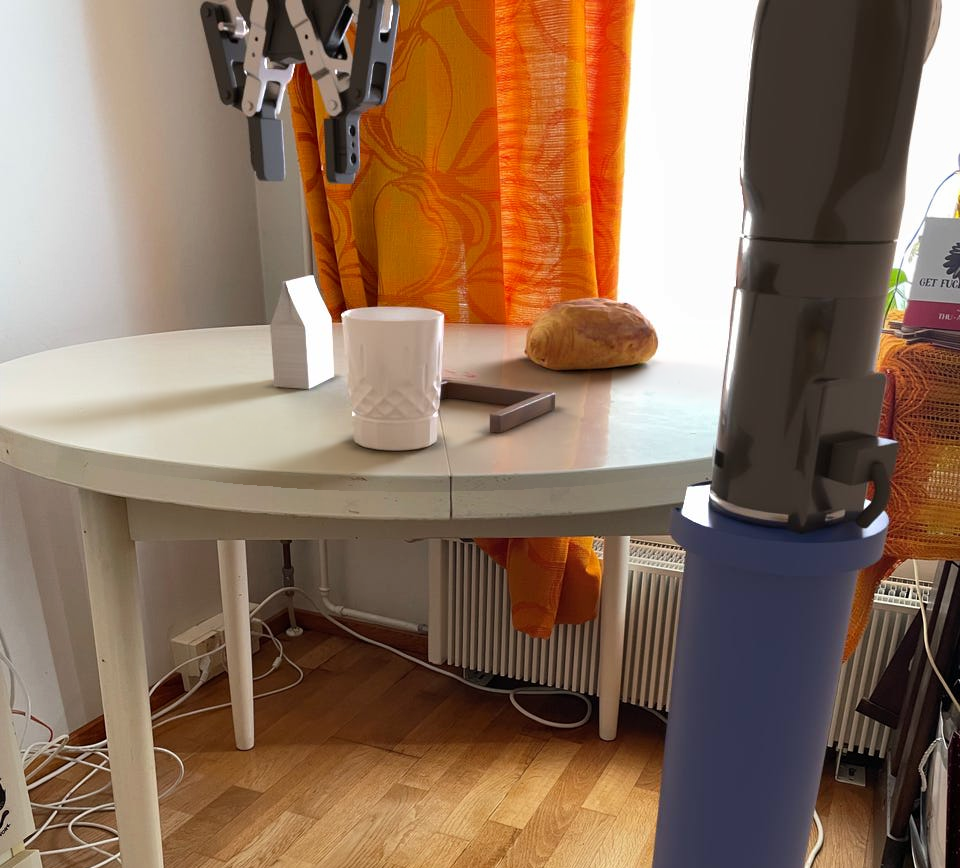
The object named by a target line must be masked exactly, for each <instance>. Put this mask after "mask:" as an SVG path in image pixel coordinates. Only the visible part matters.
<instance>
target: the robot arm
mask: <svg viewBox="0 0 960 868" xmlns="http://www.w3.org/2000/svg"><path fill="white" fill-rule="evenodd" d="M400 8H401V7H400V2H399V0H224V1H222V2H220V3H218V2H213V1H208V0H206V1H204V2H202V3H201V5H200V8H199V15H200V19H201V23H202V28H203V31H204V36H205V40H206V44H207V48H208V53H209V57H210V62H211V65H212V70H213V75H214V79H215V82H216V83H215V84H216V86H217V92H218V96H219V99H220V101H221V103H222V104H223V105H224V106H230V107H233V108H235V109H237V110H239V111H241V112H242V113H243V114H244V115H245V118H246V120H247V127H248V142H249V153H250V154H249V155H250V156H249V157H250V164H251V167H252V170H253V172H255V174H256V175H255V176H256V178H257V180H258V181H259V182H282V181H284V180H285V178H286V162H285V145H284V144H285V143H284V130H283V129H284V128H283V119H278V118H277V117H279V115H280V113H281V108H282V104H283V99H284V95H285V89H286V86H287V84H289V83H290V82H291V80H292V79H293V74H294V69H295V65H300V64H302V63H303V64H304V63H305V64H306V67H307V71H308V72H309V75H310V76H311V77H312V78H313V79H314V80H315V82H316V84H317V86H318V89H319V93H320V95H321V96H320V97H321V99H322V101H323V105H324V108H325V112H326V113H327V114H328V115H329V118H323V134H324V135H323V136H324V137H323V138H324V159H325V177H326V178H325V179H326V180H327V183H329V184H337V185H347V184H353V183H354V182H355V178H356V174H359V170H360V168H361V167H360V166H361V156H360V119H361V116H362V114H364V113H365V112H367V111H369V110H370V109H372V108H374V107H377V108H378V107H379V108H380V107H382V106H384V105H385V104H386V102H387V98H388V93H389V85H390V80H391V79H390V78H391V72H392V71H391V70H392V65H393V59H394V51H395V44H396V38H397V30H398V23H399V16H400ZM942 9H943V1H942V0H758V2H757V6H756V10H755V16H754V21H753V27H752V34H751V41H750V50H749V57H748V58H749V59H748V69H747V78H746V79H747V80H746V88H745V89H746V90H745V102H744V112H743V125H742V134H741V136H742V137H741V147H740V157H739V159H740V160H739V185H740V193H741V199H742V200H741V201H742V210H741V211H742V212H741V222H740V223H741V224H740V231H739V234H740V236H739V241H738V247H737V249H738V250H737V256H736V257H737V258H736V266H735V275H734V284H733V285H734V286H733V290H732V298H731V299H732V300H731V307H730V317H729V326H728V335H727V343H726V352H725V361H724V369H723V376H722V377H723V378H722V385H721V394H720V405H719V413H718V421H717V431H716V438H715V444H712V452H711V453H712V454H711V456H712V457H711V458H712V476H711V478H712V479H711V481H712V484H711V485H710V488H709V497H708V504H709V506H710V507H711V508H712V509H713V510H714V511H716V512H717V513H719V514H721V515H723V516H725V517H728V518H731V519H733V520H736V521H740V522H744V523H747V524H752V525H757V526H763V527H770V528H778V529H786V530H789V531H793V532H795V533H799V534H805V533H809V532H813V531H817V530H821V529H825V528H829V527H832V526H836V525H840V524H844V523H848V522H852V521H855V523H856V524H857V525H858V526H859V527H861V528H865V529H866V528H868V527H869V526H870V525H871V524H872V523H873V522H874V521H875V520H876V519H877V518H878V517H879V516H880V515H881V514H882V512H883V511H886V508H887V506H888V504H889V502H890V499H891V493H892V486H891V480H890V478H893V477H894V472H895V468H896V462H897V458H898V453H899V452H898V451H899V448H900V447H899V446H900V441H896V440H894V439H893V440H892V439H889V438H885V437H880V436H878V433H879V429H880V422H881V417H882V412H883V407H884V400H885V396H886V395H885V394H886V390H887V384H888V378H887V377H888V376H887V374H886V373H885V372H883V371H878V370H876V366H877V359H878V358H877V357H878V352H879V348H880V341H881V334H882V329H883V324H884V323H883V322H884V319H885V318H884V317H885V312H886V307H887V302H888V294H889V290H890V284H891V278H892V273H893V267H894V263H895V255H896V251H897V244H898V241H897V240H898V239H899V237H900V236H899V235H900V229H901V224H902V219H903V214H904V209H905V203H906V189H907V188H906V187H907V175H908V163H909V153H910V145H911V140H912V133H913V128H914V122H915V117H916V109H917V104H918V98H919V93H920V87H921V81H922V75H923V70H924V65H925V64H927V63H926V62H927V61H928V59H929V56H930V54H931V53H932V51H933V49H934V46H935V44H936V41H937V37H938V33H939V30H940V27H941V19H942V11H943V10H942ZM351 22H352V23H353V25H354V27H355V29H356V30H355V38H354V45H353V53H352V50H351V47H350V44H349V40H348V37H347V30H348V28H349V26H350V24H351ZM247 35H248V40H247V39H246V37H245V36H247ZM246 40H247V41H246ZM267 59H268V60H269V62H267ZM872 482H873V487H874V493H873V497H872V499H871V503H870V504H869V505H868V506H867V507H866V508H865V509H864V505H865V500H866V499H867V494H868V488H869V483H872Z"/></svg>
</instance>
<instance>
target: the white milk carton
mask: <svg viewBox="0 0 960 868" xmlns="http://www.w3.org/2000/svg"><path fill="white" fill-rule="evenodd" d="M317 286H318V285H317V283H316V281H315V277H314V275H305V276H301V277H298V278H293V279H289V280H285V281H282V285H281V291H280V295H279V299H278V302H277V305H276V308H275V311H274V314H273V316H272V318H271V319H272V320H271V322H270V325H269V326H270V341H271V356H272V370H273V384H274V387H275V388H286V389H287V388H290V389H303V390H304V389H305V390H310V389H312V388H314V387H317V386H318V385H320V384H322V383H324V382H326V381H328V380H330V379H332V378H334V377H335V369H334V348H333V327H332V316H331V314H330V313H329V311H328V308H327V306H326V304H325V302H324V300H323V298H322V296H321V294H320V291H319V289H318V287H317Z"/></svg>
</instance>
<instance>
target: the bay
mask: <svg viewBox="0 0 960 868" xmlns="http://www.w3.org/2000/svg"><path fill="white" fill-rule="evenodd" d="M447 398H448V399H449V398H450V399H458V400H464V401H471V402H472V401H473V402H481V403H488V404H495V405H502V406H507V407H504V408H502V409H500V410H497V411H495V412H492V413H490V414H489V433H496V434H501V433H504V432H506V431H508V430H510V429H513V428H515V427H517V426H519V425H521V424H524V423H526V422H529V421H530V420H533V419H535V418H537V417H539V416H542V415H544V414H547V413H549V412H551V411H554V410H555V408H556V392H551V391H542V390H534V389H527V388H519V387H511V386H503V385H495V384H486V383H478V382H469V381H462V380H456V379H455V380H454V379H448V378H447V379H445V378H443V379H441V392H440V400H442V399H443V400H444V399H447Z"/></svg>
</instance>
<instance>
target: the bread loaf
mask: <svg viewBox="0 0 960 868" xmlns="http://www.w3.org/2000/svg"><path fill="white" fill-rule="evenodd" d="M658 337H659V336H658V334H657V331H656V328H655V327H654V325H653V324H652V323H651V321H650V320H649V319H648V318H647V317H646V316H645V315H643V314H642V312H641V311H640V310H639V309H638V308H637V307H636V305H633V304H630V303H627V302H623V301H618V300H613V299H610V298H604V297H586V298H579V299H570V300H566V301H562V302H559V303H555V304H551V306H550V307H549V308H548V309H546V310H545V311H543V312H542V313H541V314H540V315H538V316H536V317H535V319H534V320H533V322H532V323H531V325H530V327H529V329H528V331H527V334H526V338H525V339H526V340H525V349H524V351H523V352H524V354H525V355H526V357H527V359H528V360H530V361H532V362H533V363H536V364H537V365H539V366H541V367H543V368H544V367H545V368H546V369H550V370H553V371H570V370H593V369H596V370H597V369H608V368H609V369H610V368H617V367H625V366H632V365H636V364H644V363H646V362H649V361H650V360H651V359H652V358H654V356H655V354H656V353H657V351H658V347H659V339H658Z"/></svg>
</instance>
